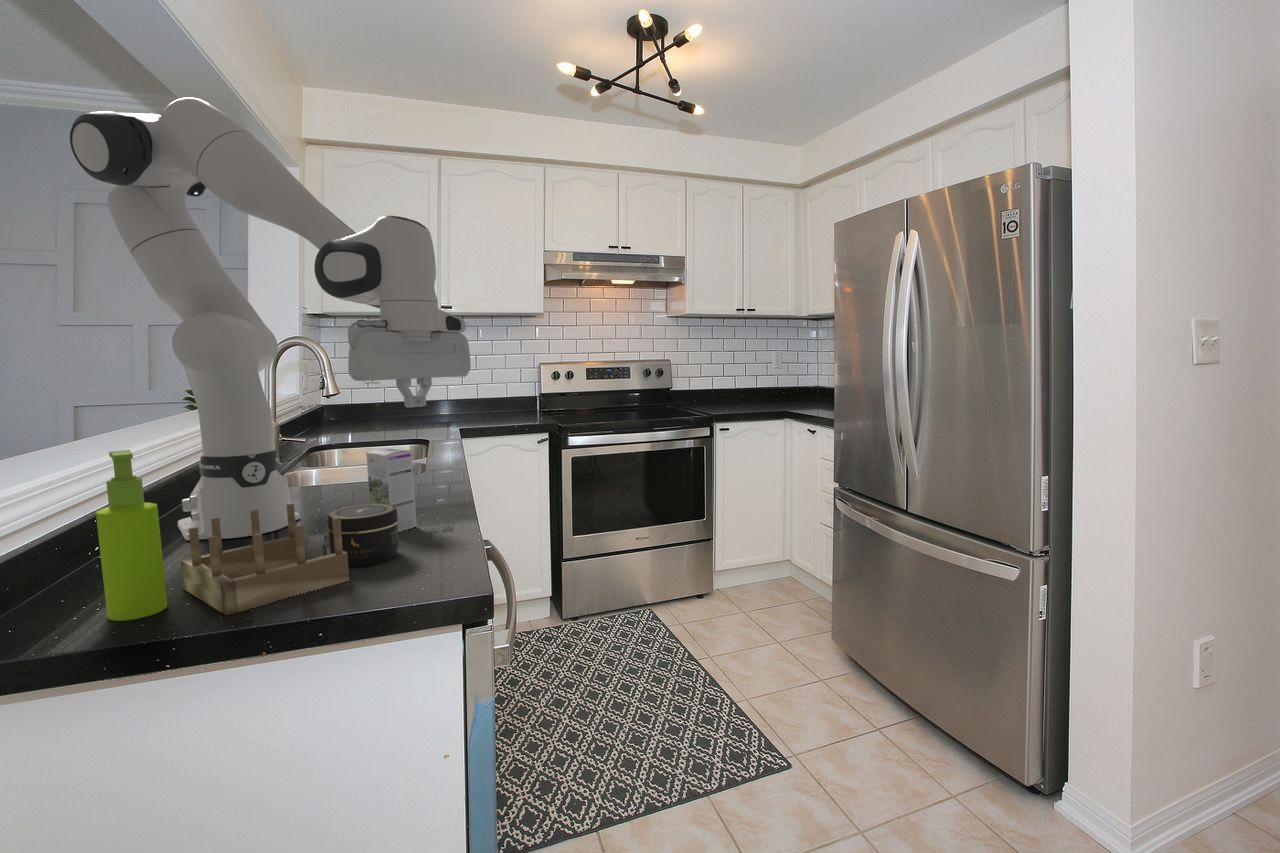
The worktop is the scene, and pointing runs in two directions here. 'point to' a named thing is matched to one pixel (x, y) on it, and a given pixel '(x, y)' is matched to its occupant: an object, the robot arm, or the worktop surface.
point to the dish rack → (260, 567)
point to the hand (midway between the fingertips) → (415, 406)
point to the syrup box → (393, 483)
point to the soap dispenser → (130, 546)
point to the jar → (366, 533)
